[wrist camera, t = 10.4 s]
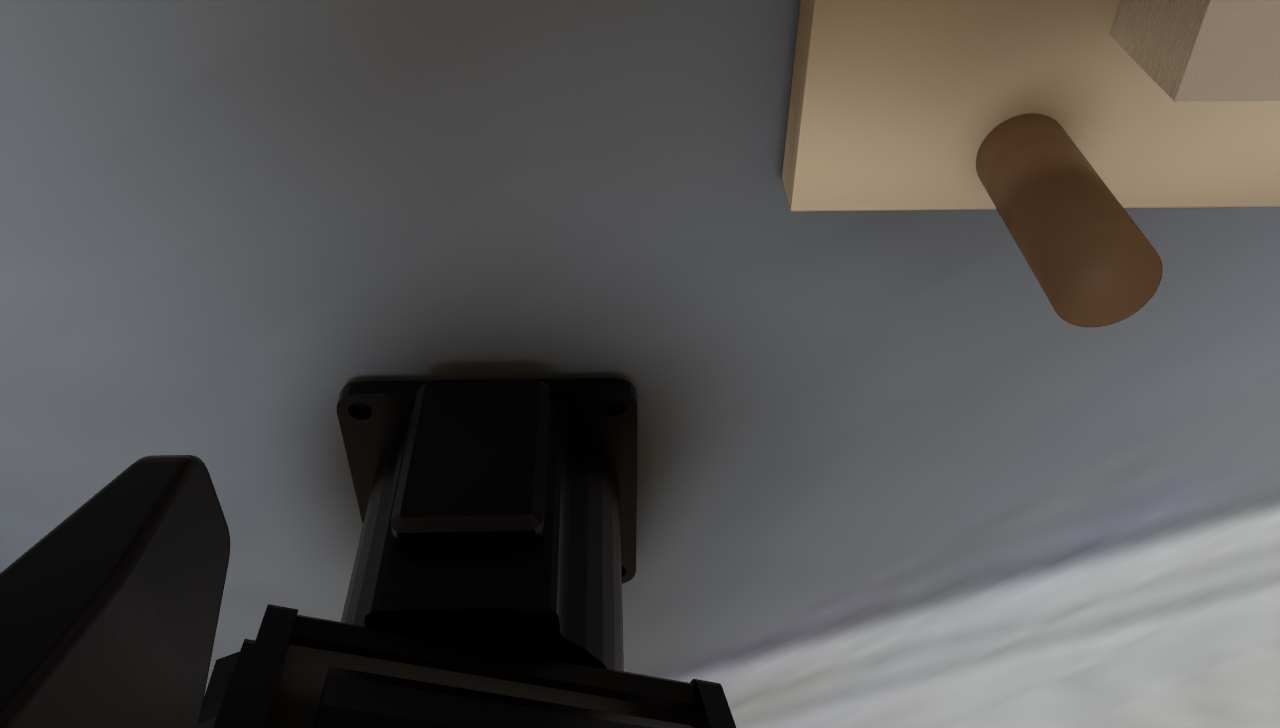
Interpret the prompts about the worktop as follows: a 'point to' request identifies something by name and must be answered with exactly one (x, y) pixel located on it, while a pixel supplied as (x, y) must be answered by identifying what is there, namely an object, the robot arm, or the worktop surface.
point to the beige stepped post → (1204, 47)
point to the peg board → (993, 64)
